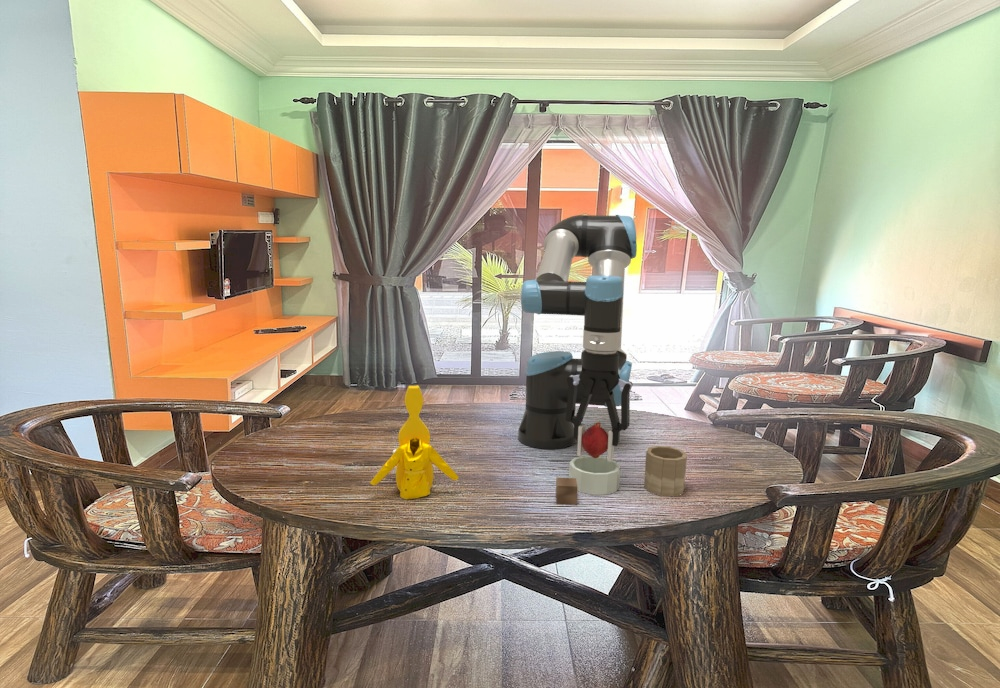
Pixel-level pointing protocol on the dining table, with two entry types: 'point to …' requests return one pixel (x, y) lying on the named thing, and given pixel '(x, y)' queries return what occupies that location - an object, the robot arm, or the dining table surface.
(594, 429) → the onion
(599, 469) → the bowl
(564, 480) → the walnut block
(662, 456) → the canister
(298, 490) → the dining table surface
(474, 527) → the dining table surface
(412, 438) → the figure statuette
